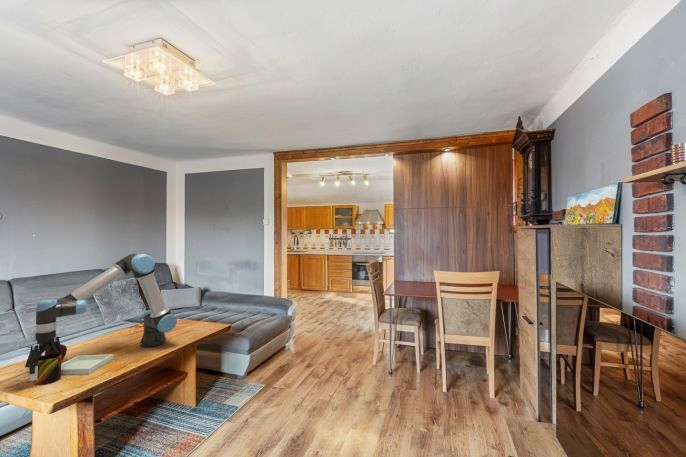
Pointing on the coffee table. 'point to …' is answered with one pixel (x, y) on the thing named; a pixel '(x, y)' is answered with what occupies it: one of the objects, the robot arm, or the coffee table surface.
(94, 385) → the coffee table surface
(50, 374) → the mug
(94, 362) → the tray
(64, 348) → the apple
